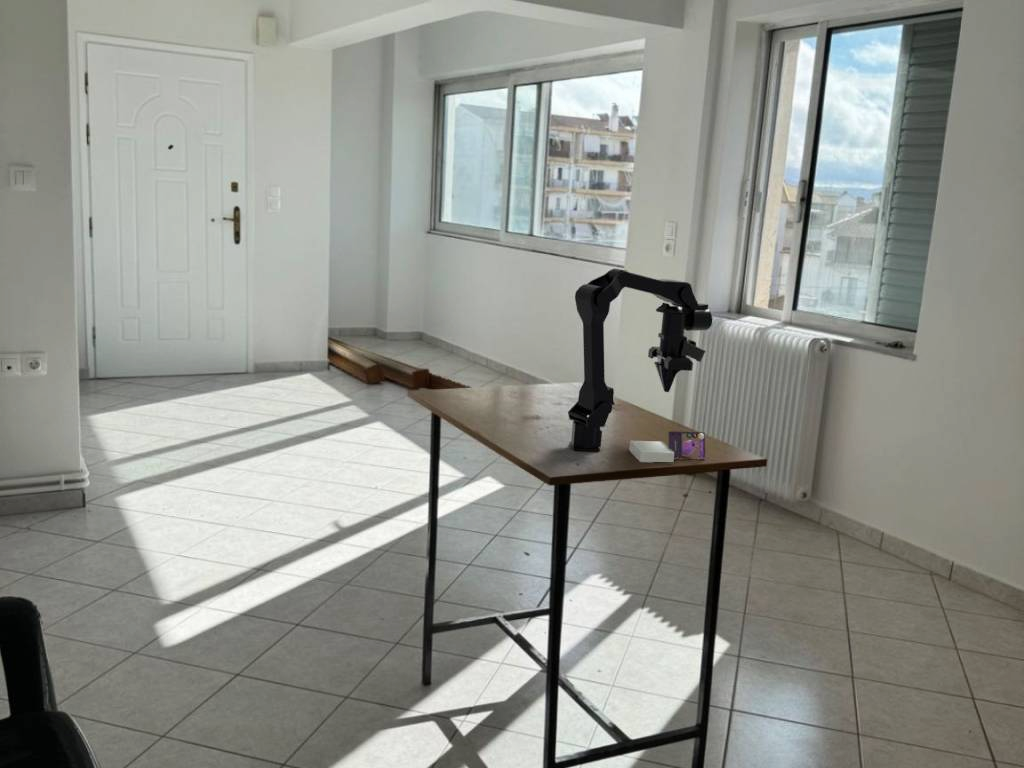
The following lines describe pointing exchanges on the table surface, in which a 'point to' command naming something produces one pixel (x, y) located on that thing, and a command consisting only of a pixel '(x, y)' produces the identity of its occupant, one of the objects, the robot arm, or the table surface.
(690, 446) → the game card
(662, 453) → the slab
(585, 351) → the robot arm
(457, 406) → the table surface
